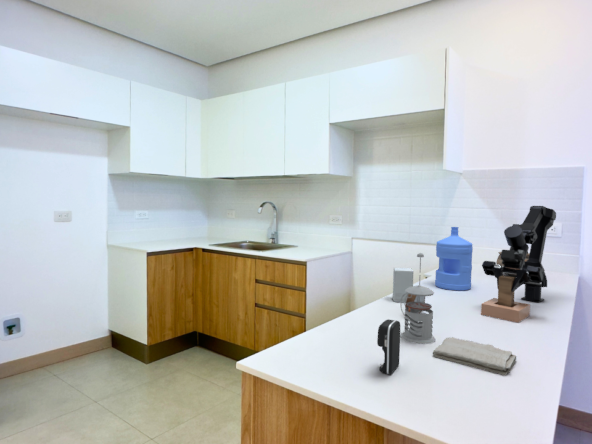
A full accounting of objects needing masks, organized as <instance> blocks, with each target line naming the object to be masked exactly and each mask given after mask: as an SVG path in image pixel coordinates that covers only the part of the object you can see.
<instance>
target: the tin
mask: <svg viewBox="0 0 592 444" xmlns="http://www.w3.org/2000/svg"><path fill="white" fill-rule="evenodd" d="M408 297H411V294H409V295H408ZM408 297H407V300H406V303H405V305H406V304H407V303H408V302H419V296H416V295H412V297H411V298H408ZM420 302H421V303H423V302H424V303H426V296H420ZM407 307H408V306H407V305H406V308H407ZM408 312H410V308H408ZM420 313H423V311H420V312H418V314H420Z"/></svg>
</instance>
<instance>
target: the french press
mask: <svg viewBox="0 0 592 444" xmlns="http://www.w3.org/2000/svg"><path fill="white" fill-rule="evenodd" d="M424 255H425V254H424V253H422V252H418V253H417V255H416V257H417V258H419V272H421V268H422V267H421V266H422V258H424V257H425V256H424ZM418 280H419V282H418V284H419V285H413V286H412V287H409V288H407V289H406V290H405V291H406V292H407V293H408V294H411V297H412V295H416V296H419V302H408V303H407V304H406V298H405V303H404V311H403V307H402V305H400V310H401V313H402V314H403V316H404V332H403V333H401V334H400V338H401V339H402V340H404V341H405V342H409V343H414V344H419V345H420V344H421V345H427V344H433V343H435V342H436V338H435V336H434V335H433V328H434V327H433V323H434V322H433V318H434V311H433V310H432V307H433V306H432V304H431V303H428V302H425V303H424V302H423V303H421V302H420V296H425V297H431V296H433V295H434V294H435V292H434V290H432V289H430V288H429V287H427V286H423V285H421V276H419V279H418ZM407 293H406V294H407ZM408 294H407V296H406V297H408ZM404 295H405V294H404ZM404 295H403V296H404ZM403 296H402V298H403ZM411 297H408V298H411ZM402 298H401V300H402ZM406 305H407V306H408V307H407V308H406ZM408 308H410V312H408ZM420 311H422V312H420ZM418 312H420V313H419V314H418ZM425 312H426V313H425Z"/></svg>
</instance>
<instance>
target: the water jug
mask: <svg viewBox="0 0 592 444" xmlns="http://www.w3.org/2000/svg"><path fill="white" fill-rule="evenodd" d="M450 229H451V230H450V235H449V236H446V237H445V238H442V239H440V240H438V241H436V247H435V253H436V254H435V255H436V257H437V258H438V268H437V269H436V271H435V280H434V284H435V286H436V287H437V288H439V289H444V290H448V291H469V290H470V289H471V288H472V270H473V265H472V264H473V262H472V261H473V249H474V248H473V242H470V241H468V239H467V240H466V239H464V238H463V237H461V236H459V227H458V226H451V227H450Z"/></svg>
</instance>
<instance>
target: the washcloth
mask: <svg viewBox="0 0 592 444" xmlns="http://www.w3.org/2000/svg"><path fill="white" fill-rule="evenodd" d="M432 355H433V357H434V358H438V359H440V360H445V361H449V362H452V363H456V364H460V365H464V366H469V367H471V368H476V369H479V370H480V369H481V370H484V371H486V372H491V373H494V374H498V375H501V376H507V374H509V373H510V372H511V371H512V368H513V366H514V365H515V362H516V360H517V355H515V354H513V352H512V351H510V350H505V349H501V348H499V347H498V348H497V347H495V346H494V345H493V344H489V343H488V344H486V343H485V344H484V343H479V342H476V341H472V340H468V339H462V338H461V339H460V338H457V337H453V336H452V337H451V336H450V337H445V338H444V340H443V341H442V342H441V344H440V345H438V346H437V347H435V348H434V350H433V351H432Z"/></svg>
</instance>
